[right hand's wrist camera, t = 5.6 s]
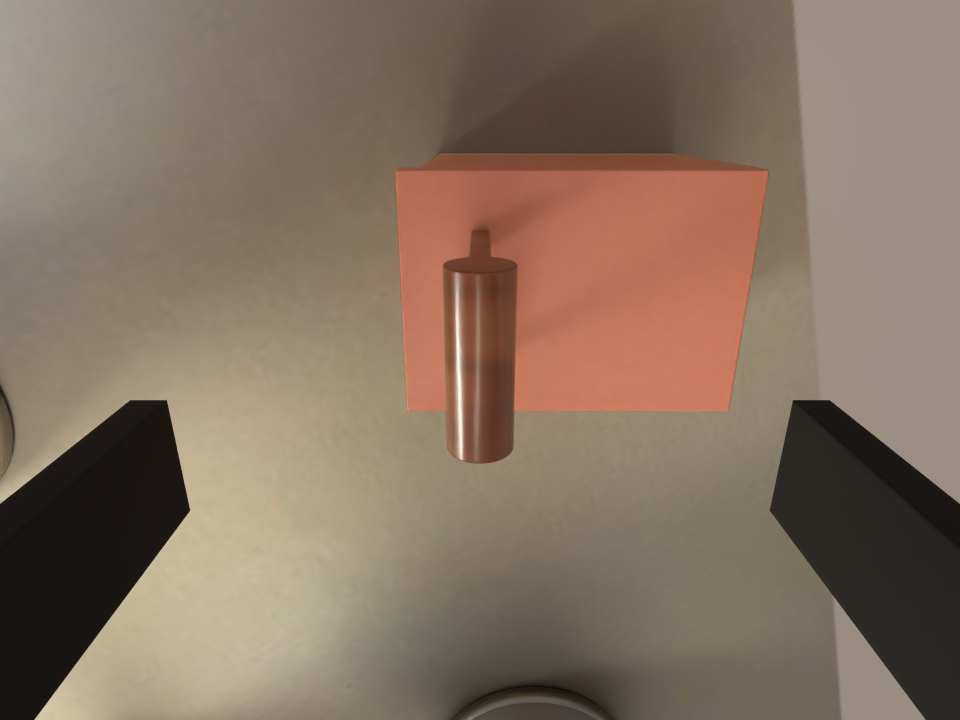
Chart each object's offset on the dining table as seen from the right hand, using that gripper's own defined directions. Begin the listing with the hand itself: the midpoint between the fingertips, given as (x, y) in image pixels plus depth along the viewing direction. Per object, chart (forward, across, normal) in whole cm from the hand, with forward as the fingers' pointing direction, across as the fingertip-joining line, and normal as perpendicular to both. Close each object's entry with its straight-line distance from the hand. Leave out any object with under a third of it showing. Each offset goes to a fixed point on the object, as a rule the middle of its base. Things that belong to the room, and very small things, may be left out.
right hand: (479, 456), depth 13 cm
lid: (+13, -4, 0) cm, 14 cm away
